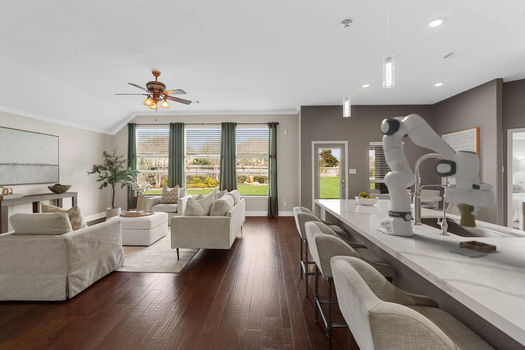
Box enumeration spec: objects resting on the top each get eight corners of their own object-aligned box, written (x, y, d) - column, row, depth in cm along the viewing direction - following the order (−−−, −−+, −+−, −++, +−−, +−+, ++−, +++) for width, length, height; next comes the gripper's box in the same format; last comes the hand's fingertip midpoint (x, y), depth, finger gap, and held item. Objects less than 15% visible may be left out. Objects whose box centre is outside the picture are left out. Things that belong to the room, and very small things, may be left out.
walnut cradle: (459, 247, 130) (459, 242, 130) (473, 245, 132) (473, 240, 132) (481, 253, 120) (481, 247, 120) (496, 250, 123) (496, 245, 123)
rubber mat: (449, 250, 124) (449, 249, 124) (464, 248, 126) (464, 247, 126) (471, 257, 114) (471, 256, 114) (487, 255, 117) (487, 253, 117)
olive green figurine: (462, 224, 124) (462, 201, 124) (478, 226, 119) (478, 202, 119) (457, 225, 121) (457, 202, 121) (473, 228, 116) (473, 203, 116)
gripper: (441, 184, 129) (441, 211, 129) (486, 186, 109) (486, 218, 109) (450, 183, 131) (450, 210, 131) (497, 185, 111) (497, 217, 111)
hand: (467, 214), depth 120 cm, fingers closed on olive green figurine, 4 cm apart
